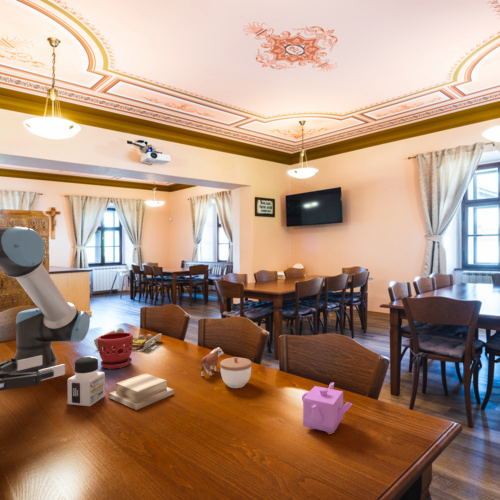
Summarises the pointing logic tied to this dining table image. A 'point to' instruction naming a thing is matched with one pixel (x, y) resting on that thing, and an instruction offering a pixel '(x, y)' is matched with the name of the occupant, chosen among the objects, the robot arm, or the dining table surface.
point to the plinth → (141, 403)
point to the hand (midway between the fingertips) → (52, 364)
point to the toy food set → (137, 341)
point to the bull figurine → (211, 360)
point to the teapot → (323, 408)
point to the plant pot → (115, 349)
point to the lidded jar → (235, 371)
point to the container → (86, 382)
